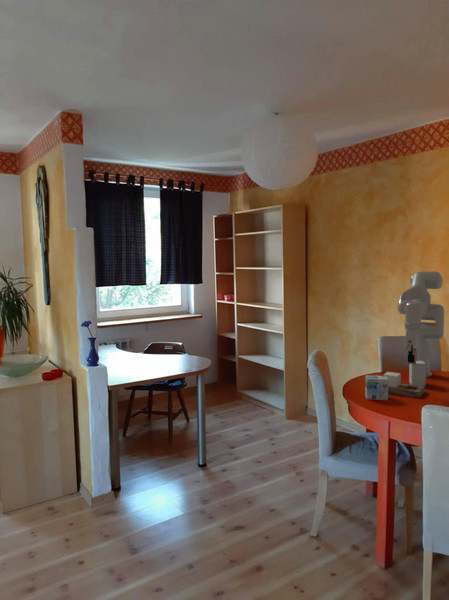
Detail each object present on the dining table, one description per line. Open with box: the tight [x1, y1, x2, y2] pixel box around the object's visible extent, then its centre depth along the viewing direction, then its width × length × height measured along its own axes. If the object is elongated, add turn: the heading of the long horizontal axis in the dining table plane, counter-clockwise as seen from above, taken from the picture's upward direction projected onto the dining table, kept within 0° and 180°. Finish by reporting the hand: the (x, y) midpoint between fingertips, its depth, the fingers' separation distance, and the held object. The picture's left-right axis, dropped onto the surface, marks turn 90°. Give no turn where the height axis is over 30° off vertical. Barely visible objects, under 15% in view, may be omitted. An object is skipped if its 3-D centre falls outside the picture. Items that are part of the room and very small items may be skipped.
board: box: [388, 382, 426, 399], centre depth 242 cm, size 12×20×3 cm, turn 55°
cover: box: [383, 371, 402, 388], centre depth 244 cm, size 7×7×6 cm
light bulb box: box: [364, 375, 389, 401], centre depth 233 cm, size 11×7×11 cm, turn 80°
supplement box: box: [408, 361, 427, 387], centre depth 255 cm, size 7×7×13 cm
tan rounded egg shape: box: [407, 349, 416, 365], centre depth 237 cm, size 4×4×7 cm
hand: (412, 361), depth 237 cm, fingers closed on tan rounded egg shape, 4 cm apart
